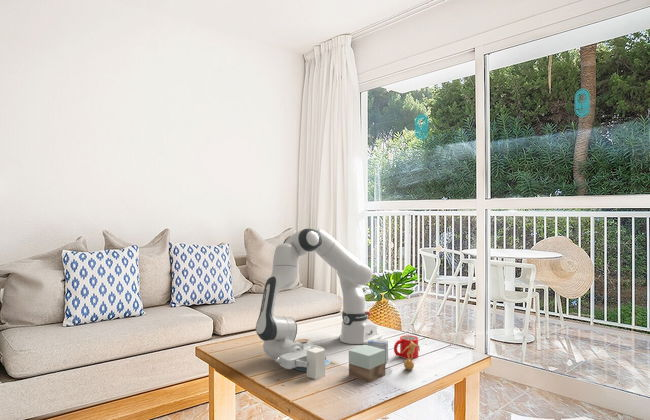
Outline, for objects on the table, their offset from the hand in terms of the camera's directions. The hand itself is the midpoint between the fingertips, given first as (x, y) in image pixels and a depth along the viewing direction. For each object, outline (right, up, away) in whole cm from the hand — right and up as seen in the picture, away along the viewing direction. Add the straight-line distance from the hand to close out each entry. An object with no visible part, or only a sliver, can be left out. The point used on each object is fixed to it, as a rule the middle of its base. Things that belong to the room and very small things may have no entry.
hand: (316, 361), depth 163 cm
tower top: (+20, -1, +1) cm, 20 cm away
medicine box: (+26, -6, +17) cm, 31 cm away
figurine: (+37, -6, +5) cm, 38 cm away
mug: (+39, -6, +22) cm, 45 cm away
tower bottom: (+20, -6, 0) cm, 20 cm away
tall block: (0, -6, 0) cm, 6 cm away
